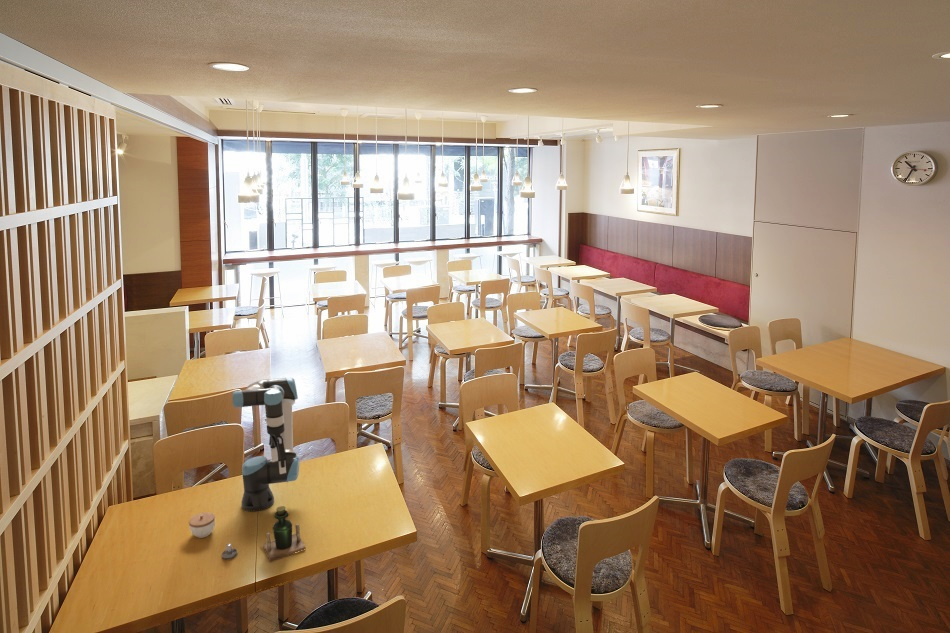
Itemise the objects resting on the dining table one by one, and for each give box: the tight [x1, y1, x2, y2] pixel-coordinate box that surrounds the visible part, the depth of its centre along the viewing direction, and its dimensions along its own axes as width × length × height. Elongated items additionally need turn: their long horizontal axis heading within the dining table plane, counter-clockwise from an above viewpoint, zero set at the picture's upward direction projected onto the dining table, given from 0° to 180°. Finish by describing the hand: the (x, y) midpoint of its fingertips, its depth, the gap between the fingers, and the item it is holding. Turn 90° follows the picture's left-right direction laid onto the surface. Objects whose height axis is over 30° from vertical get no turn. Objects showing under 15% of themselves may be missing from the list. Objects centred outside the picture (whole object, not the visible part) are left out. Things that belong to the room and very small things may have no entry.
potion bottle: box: [272, 505, 293, 550], centre depth 252 cm, size 8×8×18 cm
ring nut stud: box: [221, 542, 238, 561], centre depth 249 cm, size 6×6×5 cm
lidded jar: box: [188, 511, 216, 539], centre depth 264 cm, size 11×11×9 cm
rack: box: [262, 523, 307, 563], centre depth 253 cm, size 12×15×10 cm
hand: (278, 467), depth 267 cm, fingers open, 13 cm apart
